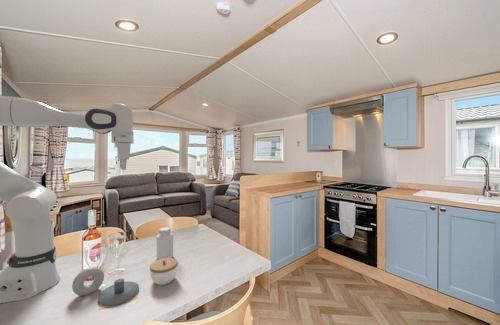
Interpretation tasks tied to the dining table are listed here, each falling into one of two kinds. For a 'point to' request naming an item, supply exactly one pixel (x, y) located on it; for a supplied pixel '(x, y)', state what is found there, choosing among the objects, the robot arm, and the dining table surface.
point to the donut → (80, 278)
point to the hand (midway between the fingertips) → (123, 169)
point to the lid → (118, 293)
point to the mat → (126, 301)
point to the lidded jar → (163, 270)
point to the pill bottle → (164, 243)
